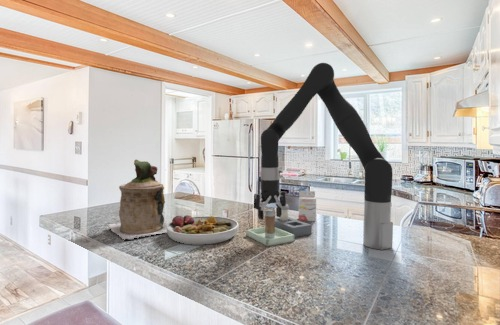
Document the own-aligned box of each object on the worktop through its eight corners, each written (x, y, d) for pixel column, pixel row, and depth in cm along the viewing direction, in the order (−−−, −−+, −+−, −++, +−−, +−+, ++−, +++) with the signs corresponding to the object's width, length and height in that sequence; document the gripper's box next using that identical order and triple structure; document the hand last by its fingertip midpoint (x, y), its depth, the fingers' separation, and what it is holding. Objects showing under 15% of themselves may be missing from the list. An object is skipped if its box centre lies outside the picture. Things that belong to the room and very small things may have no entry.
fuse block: (311, 233, 128) (311, 224, 128) (293, 237, 123) (293, 227, 123) (286, 224, 144) (286, 216, 143) (268, 227, 139) (268, 218, 138)
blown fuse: (276, 237, 121) (276, 210, 121) (268, 239, 119) (268, 212, 119) (271, 235, 125) (271, 209, 124) (263, 236, 123) (263, 210, 122)
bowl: (246, 229, 137) (246, 212, 137) (224, 250, 108) (224, 229, 108) (187, 224, 145) (187, 208, 144) (151, 243, 116) (151, 224, 116)
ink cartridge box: (299, 220, 151) (299, 192, 150) (298, 218, 156) (298, 190, 155) (316, 221, 150) (316, 192, 149) (315, 219, 155) (315, 191, 154)
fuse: (290, 228, 136) (290, 205, 135) (283, 230, 134) (283, 206, 133) (284, 226, 139) (285, 203, 139) (277, 228, 137) (278, 204, 137)
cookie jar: (123, 242, 117) (121, 161, 115) (106, 229, 136) (104, 159, 134) (180, 231, 133) (179, 159, 131) (158, 220, 151) (157, 158, 150)
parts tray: (294, 241, 118) (294, 234, 118) (267, 246, 112) (267, 240, 112) (271, 231, 132) (271, 225, 132) (246, 235, 126) (246, 229, 125)
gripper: (260, 180, 114) (260, 222, 115) (289, 178, 121) (289, 217, 122) (250, 178, 120) (250, 218, 121) (278, 176, 127) (278, 214, 128)
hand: (270, 218), depth 121 cm, fingers open, 8 cm apart
